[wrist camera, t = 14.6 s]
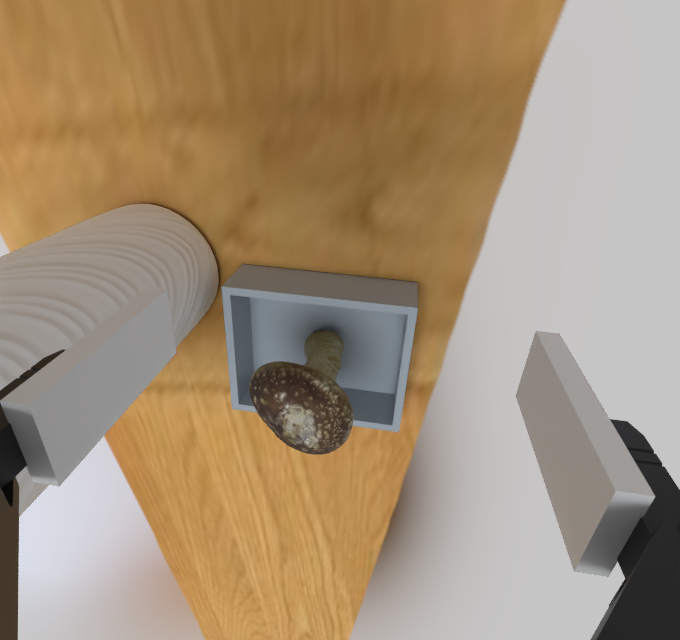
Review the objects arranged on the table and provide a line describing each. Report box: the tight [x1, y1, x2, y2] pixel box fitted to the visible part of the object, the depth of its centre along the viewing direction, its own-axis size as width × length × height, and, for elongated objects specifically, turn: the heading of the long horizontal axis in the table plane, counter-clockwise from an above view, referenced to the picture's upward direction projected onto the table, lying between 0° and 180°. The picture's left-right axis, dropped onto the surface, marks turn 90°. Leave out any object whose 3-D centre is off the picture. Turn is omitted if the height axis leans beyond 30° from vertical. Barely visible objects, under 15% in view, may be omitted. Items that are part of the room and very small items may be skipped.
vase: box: [0, 204, 219, 516], centre depth 35 cm, size 14×14×32 cm
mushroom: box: [249, 329, 353, 454], centre depth 42 cm, size 9×9×15 cm
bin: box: [221, 264, 418, 432], centre depth 47 cm, size 15×19×6 cm
